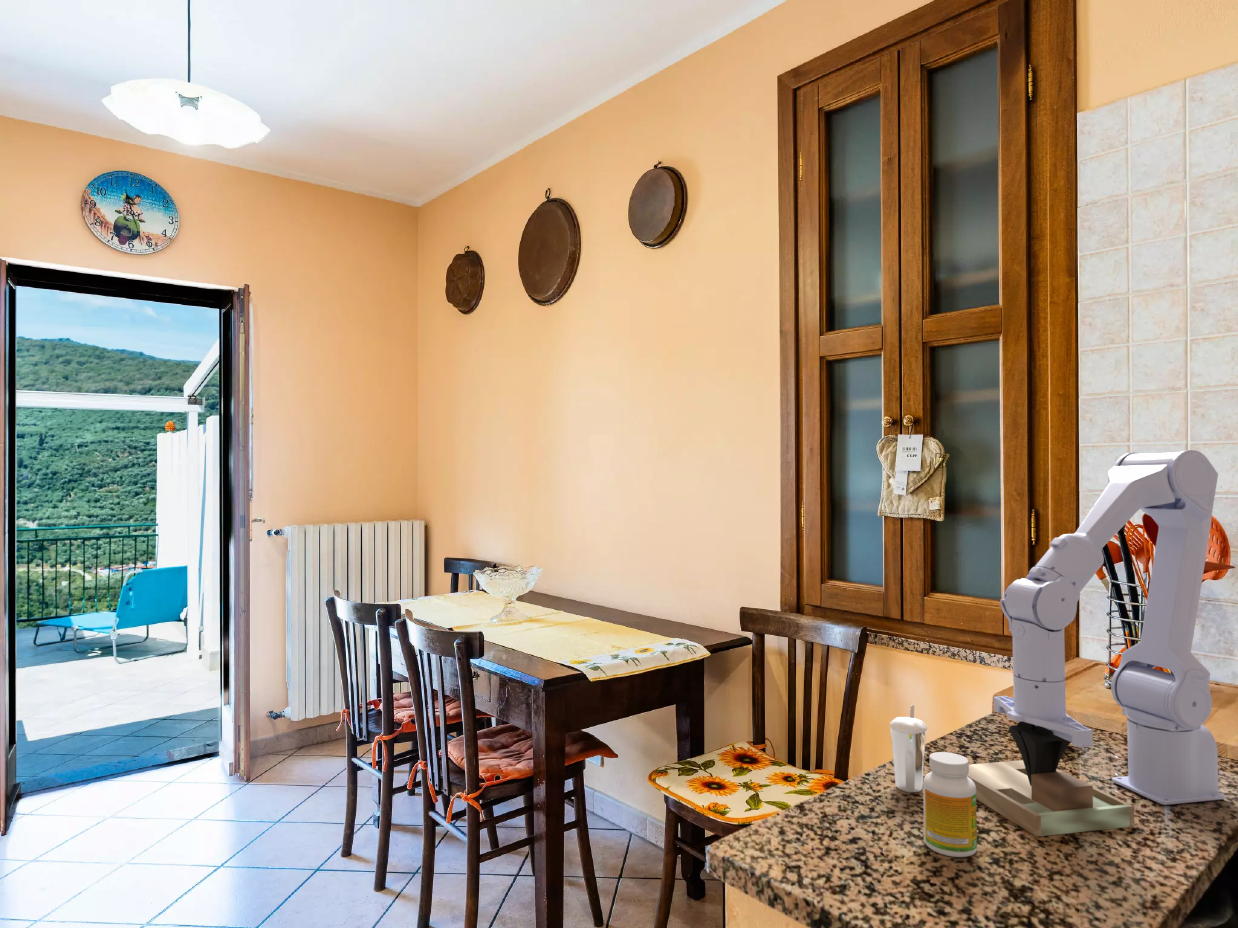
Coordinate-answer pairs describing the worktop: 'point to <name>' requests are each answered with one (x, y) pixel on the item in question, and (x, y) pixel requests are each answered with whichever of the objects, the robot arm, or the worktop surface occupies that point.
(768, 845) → the worktop surface
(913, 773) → the milkshake
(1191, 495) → the robot arm
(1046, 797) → the walnut block
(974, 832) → the supplement bottle
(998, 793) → the tray
